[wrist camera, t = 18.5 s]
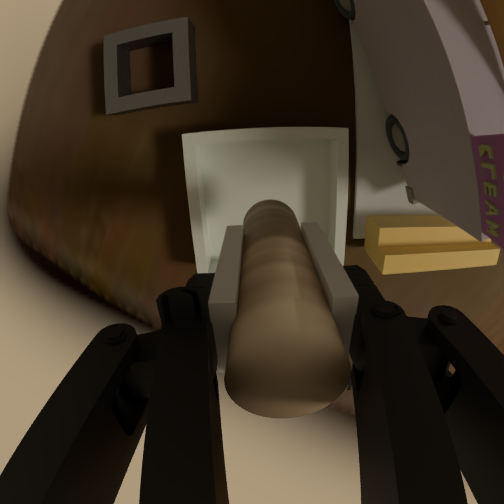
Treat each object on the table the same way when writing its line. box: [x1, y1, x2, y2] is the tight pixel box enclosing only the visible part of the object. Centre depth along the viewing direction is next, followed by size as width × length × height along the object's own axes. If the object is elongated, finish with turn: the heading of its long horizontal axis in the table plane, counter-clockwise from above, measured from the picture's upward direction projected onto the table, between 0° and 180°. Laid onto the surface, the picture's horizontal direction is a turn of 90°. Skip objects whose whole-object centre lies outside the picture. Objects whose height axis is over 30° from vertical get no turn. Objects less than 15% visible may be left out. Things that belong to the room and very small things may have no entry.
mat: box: [349, 20, 439, 239], centre depth 19 cm, size 26×14×1 cm, turn 3°
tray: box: [182, 127, 349, 273], centre depth 22 cm, size 11×11×3 cm
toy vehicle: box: [334, 0, 504, 249], centre depth 12 cm, size 9×20×15 cm, turn 21°
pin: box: [224, 199, 351, 418], centre depth 13 cm, size 3×3×12 cm
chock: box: [364, 215, 500, 274], centre depth 22 cm, size 3×12×4 cm, turn 93°
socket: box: [104, 17, 198, 115], centre depth 18 cm, size 6×6×2 cm
